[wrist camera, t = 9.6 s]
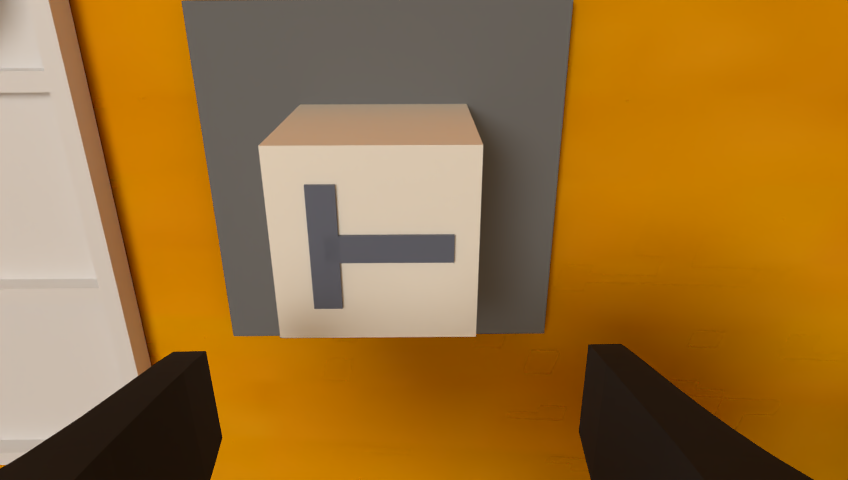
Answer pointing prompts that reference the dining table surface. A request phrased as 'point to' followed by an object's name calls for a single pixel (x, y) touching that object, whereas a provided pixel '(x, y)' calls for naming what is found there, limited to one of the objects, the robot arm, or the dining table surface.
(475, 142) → the letter cube
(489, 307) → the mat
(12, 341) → the sorting tray
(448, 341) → the dining table surface
